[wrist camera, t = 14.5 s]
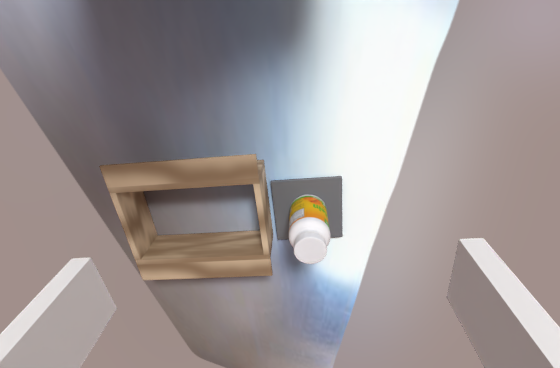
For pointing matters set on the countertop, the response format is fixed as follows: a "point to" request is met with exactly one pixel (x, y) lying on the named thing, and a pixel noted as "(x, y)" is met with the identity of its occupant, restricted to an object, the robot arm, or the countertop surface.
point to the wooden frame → (191, 247)
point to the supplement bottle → (309, 229)
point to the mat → (294, 188)
